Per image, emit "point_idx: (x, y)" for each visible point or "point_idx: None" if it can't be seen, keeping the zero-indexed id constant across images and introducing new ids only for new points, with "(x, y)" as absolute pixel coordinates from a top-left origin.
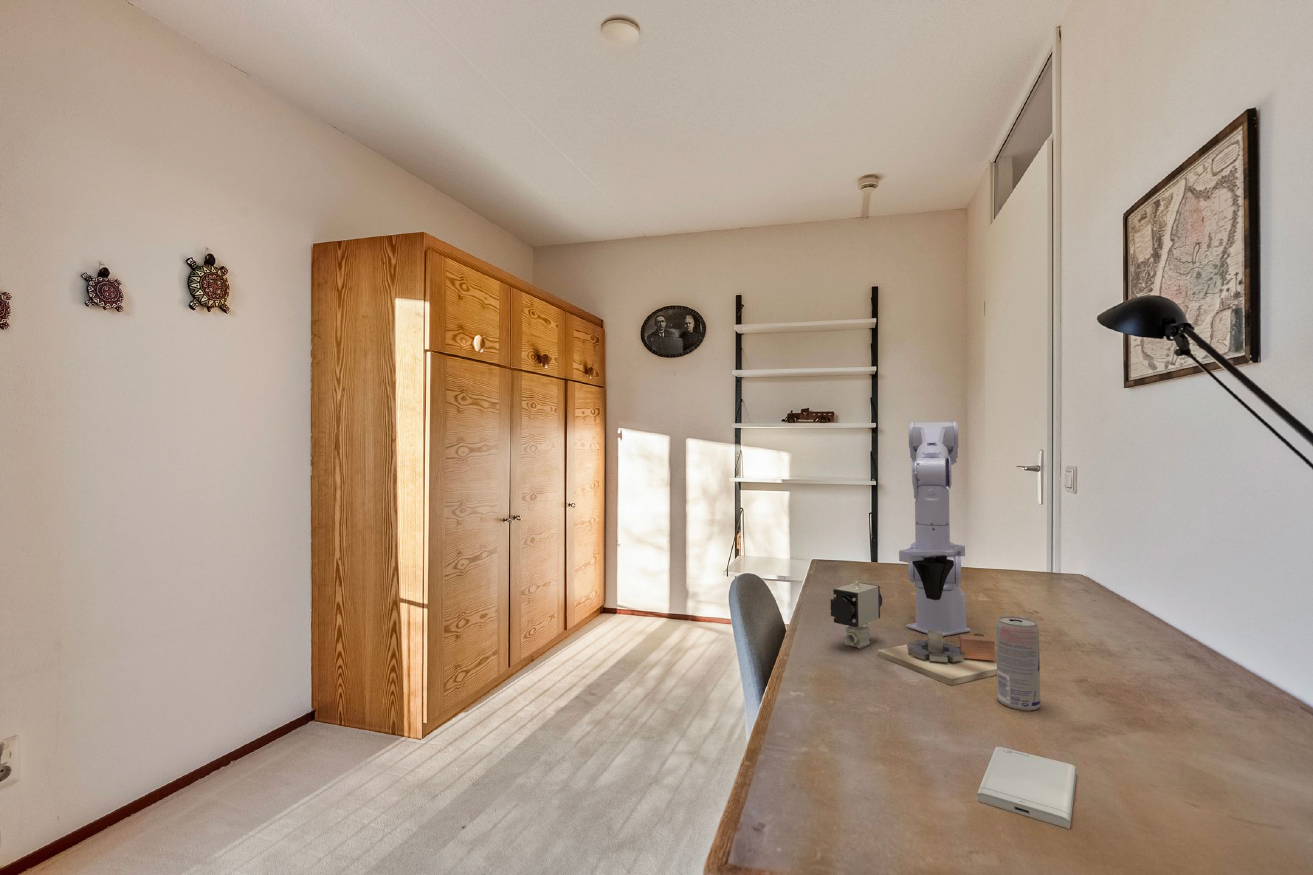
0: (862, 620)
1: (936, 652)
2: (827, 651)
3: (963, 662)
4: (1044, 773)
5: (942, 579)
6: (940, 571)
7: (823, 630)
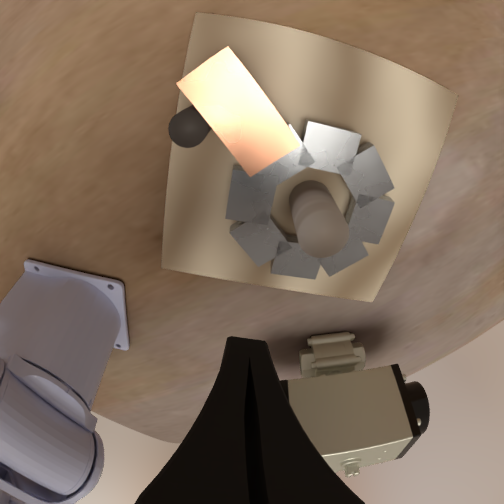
0: (373, 377)
1: (351, 188)
2: (399, 346)
3: (310, 116)
4: None
5: (238, 427)
6: (285, 481)
7: None
